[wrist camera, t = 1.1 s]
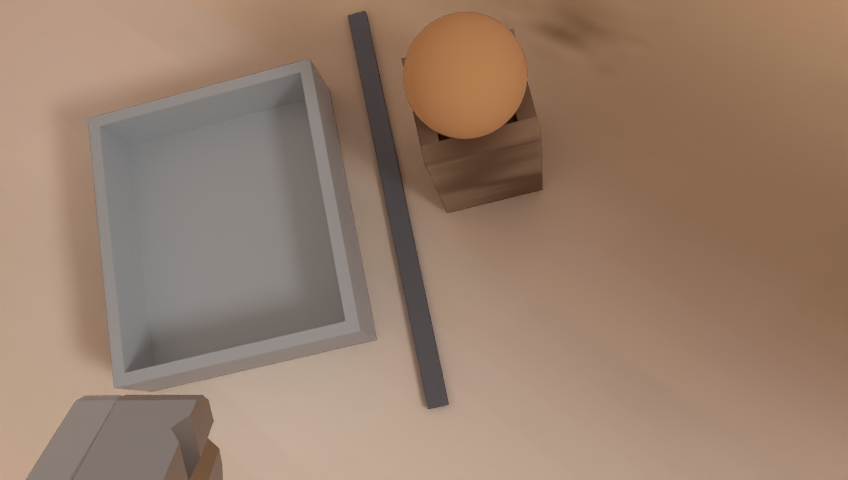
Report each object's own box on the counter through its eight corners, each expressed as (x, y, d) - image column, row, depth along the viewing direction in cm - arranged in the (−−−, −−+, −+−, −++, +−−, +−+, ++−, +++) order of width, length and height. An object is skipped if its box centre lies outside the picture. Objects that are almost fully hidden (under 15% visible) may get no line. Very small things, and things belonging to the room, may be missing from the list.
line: (366, 13, 44) (365, 11, 43) (448, 404, 38) (447, 404, 38) (349, 18, 44) (348, 15, 44) (428, 409, 38) (427, 408, 38)
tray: (328, 88, 43) (309, 58, 39) (376, 339, 39) (360, 330, 36) (123, 142, 44) (87, 118, 41) (151, 391, 40) (114, 388, 37)
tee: (519, 102, 41) (513, 29, 34) (542, 189, 40) (541, 133, 32) (427, 125, 42) (401, 58, 34) (447, 212, 40) (424, 163, 33)
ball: (513, 36, 34) (508, -28, 29) (541, 139, 33) (540, 90, 28) (404, 65, 35) (381, 6, 30) (427, 168, 33) (406, 124, 29)
